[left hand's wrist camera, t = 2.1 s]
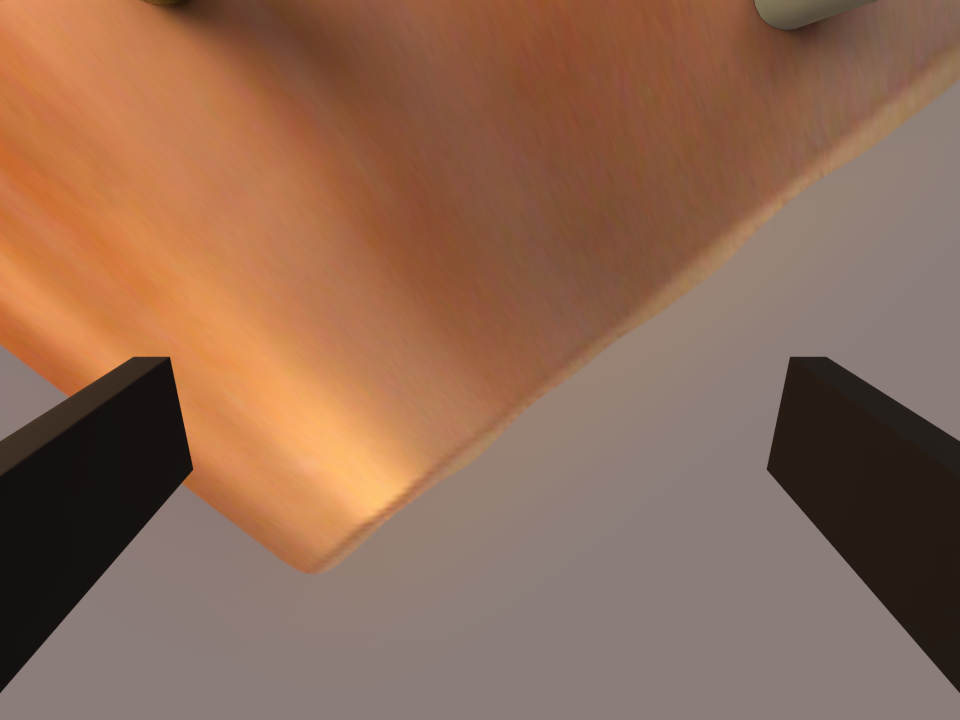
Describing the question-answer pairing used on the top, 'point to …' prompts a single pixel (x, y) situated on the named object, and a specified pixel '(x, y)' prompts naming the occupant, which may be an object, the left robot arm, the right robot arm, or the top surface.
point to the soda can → (161, 2)
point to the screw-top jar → (802, 11)
